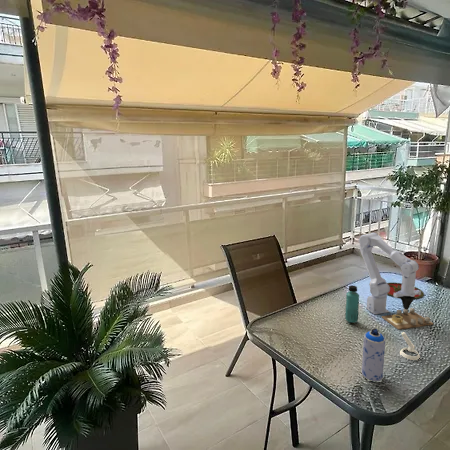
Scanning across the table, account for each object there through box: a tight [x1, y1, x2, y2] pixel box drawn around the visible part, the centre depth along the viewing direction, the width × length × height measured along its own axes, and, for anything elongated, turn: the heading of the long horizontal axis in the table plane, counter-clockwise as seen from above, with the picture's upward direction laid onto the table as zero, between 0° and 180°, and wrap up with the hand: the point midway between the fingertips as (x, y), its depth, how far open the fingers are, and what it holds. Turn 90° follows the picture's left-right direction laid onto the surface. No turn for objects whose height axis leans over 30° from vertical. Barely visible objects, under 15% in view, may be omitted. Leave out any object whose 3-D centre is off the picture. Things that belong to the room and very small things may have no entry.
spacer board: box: [381, 307, 434, 330], centre depth 160 cm, size 20×13×3 cm, turn 101°
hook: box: [399, 331, 421, 361], centre depth 133 cm, size 8×12×7 cm
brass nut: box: [392, 314, 403, 323], centre depth 158 cm, size 5×4×2 cm
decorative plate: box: [386, 282, 425, 301], centre depth 196 cm, size 25×1×25 cm
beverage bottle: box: [344, 285, 360, 323], centre depth 159 cm, size 6×7×20 cm
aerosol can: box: [361, 328, 386, 381], centre depth 119 cm, size 8×8×20 cm
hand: (405, 308), depth 158 cm, fingers closed
